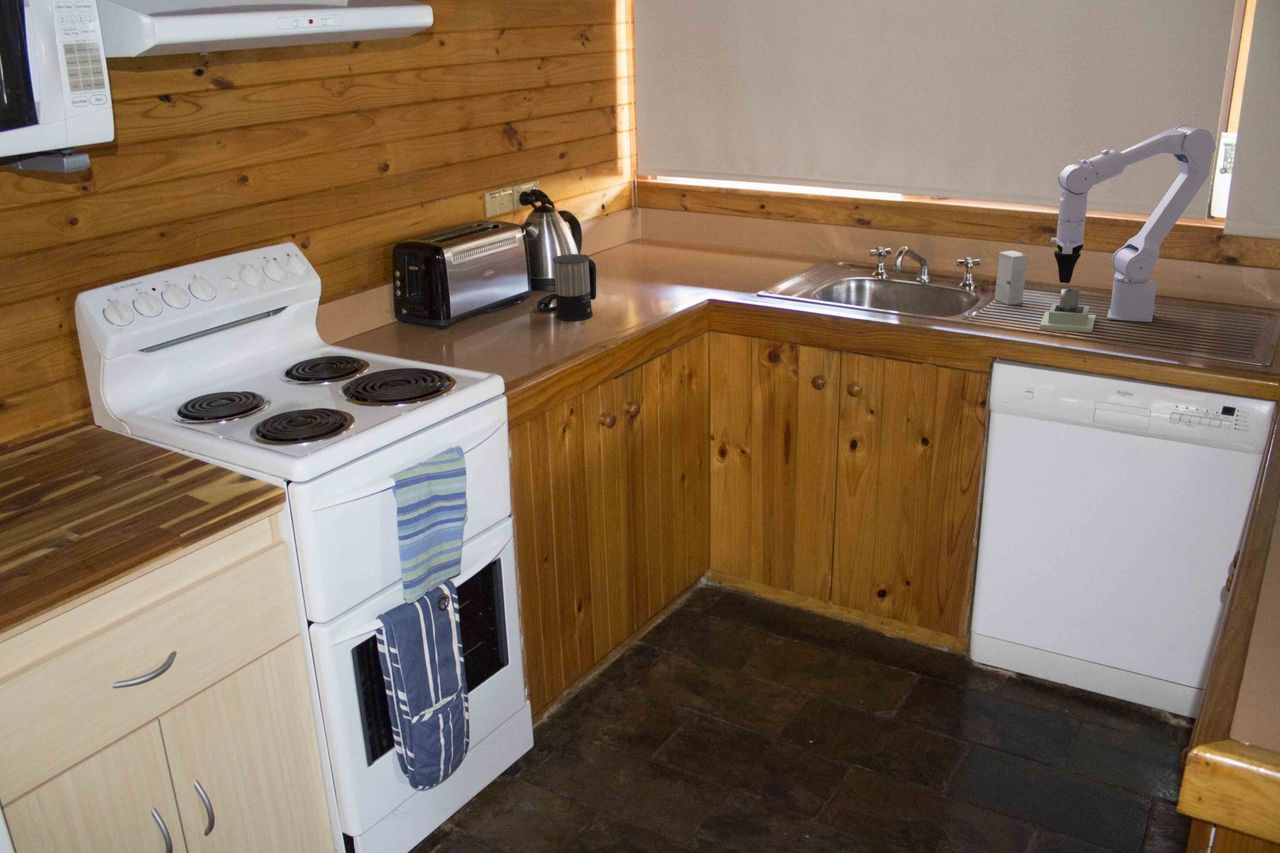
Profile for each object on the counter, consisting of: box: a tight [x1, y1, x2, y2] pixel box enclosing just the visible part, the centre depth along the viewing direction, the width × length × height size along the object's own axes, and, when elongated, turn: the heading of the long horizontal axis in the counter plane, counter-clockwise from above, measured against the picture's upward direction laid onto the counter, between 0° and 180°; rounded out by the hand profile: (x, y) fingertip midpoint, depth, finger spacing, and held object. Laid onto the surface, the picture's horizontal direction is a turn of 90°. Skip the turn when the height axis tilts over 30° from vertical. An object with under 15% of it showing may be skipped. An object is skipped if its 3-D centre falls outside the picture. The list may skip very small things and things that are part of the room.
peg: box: [1059, 287, 1081, 313], centre depth 257 cm, size 4×4×7 cm
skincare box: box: [994, 250, 1029, 306], centre depth 276 cm, size 6×4×12 cm
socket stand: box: [1039, 303, 1097, 334], centre depth 257 cm, size 11×12×4 cm
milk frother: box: [536, 253, 597, 322], centre depth 280 cm, size 14×16×15 cm
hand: (1065, 278), depth 259 cm, fingers open, 7 cm apart
